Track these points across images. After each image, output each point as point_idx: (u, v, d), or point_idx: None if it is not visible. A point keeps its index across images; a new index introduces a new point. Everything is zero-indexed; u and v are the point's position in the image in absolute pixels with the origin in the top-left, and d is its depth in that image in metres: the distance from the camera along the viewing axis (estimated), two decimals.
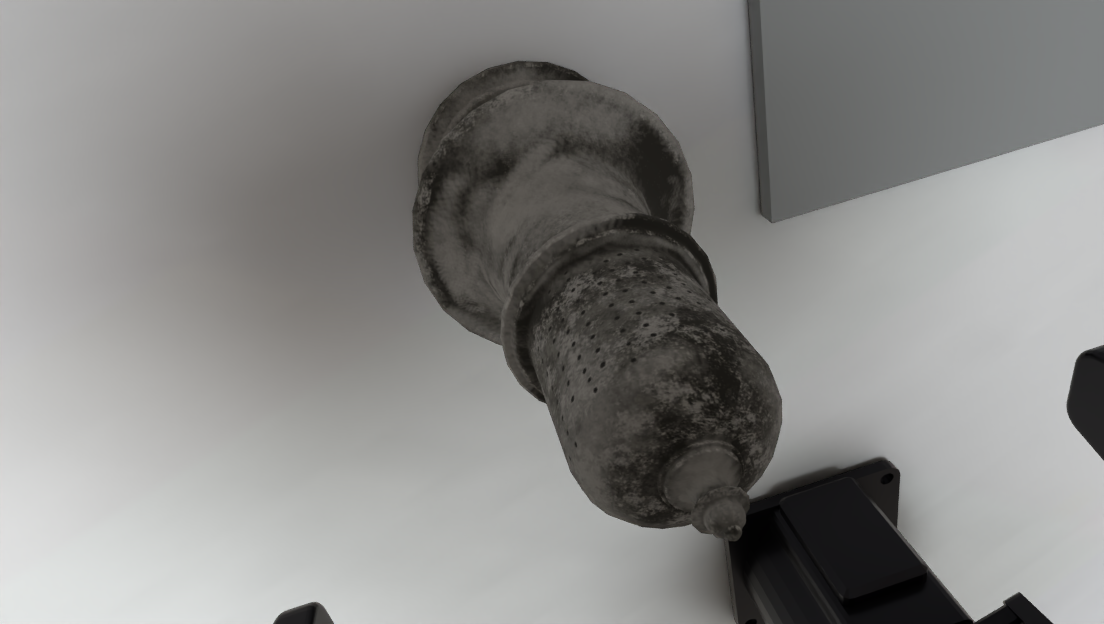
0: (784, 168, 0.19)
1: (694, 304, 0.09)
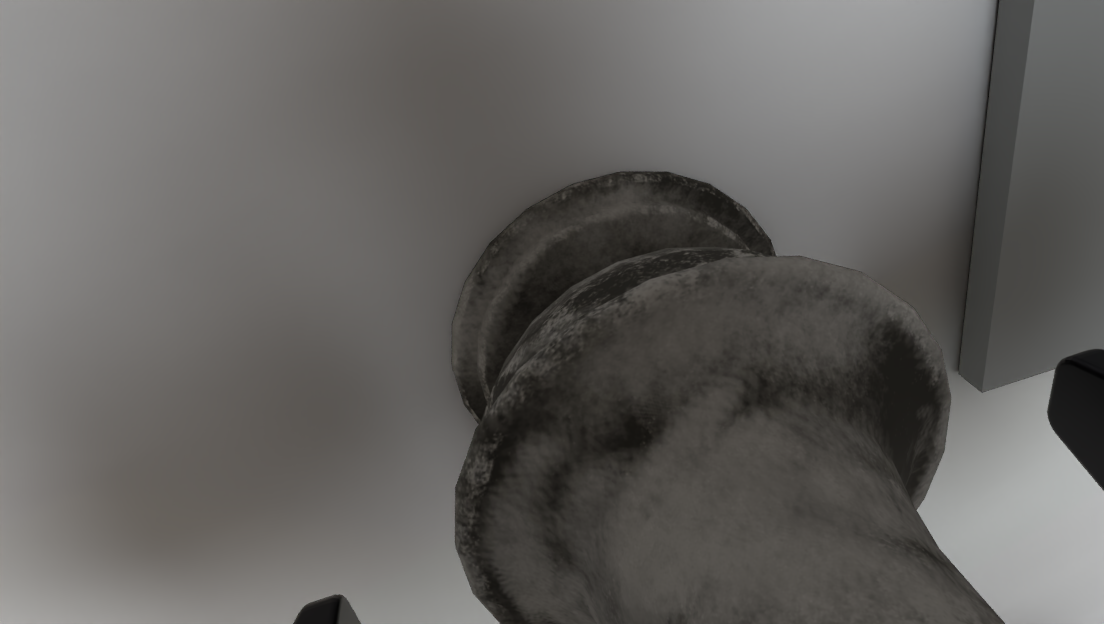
0: (1013, 318, 0.12)
1: None
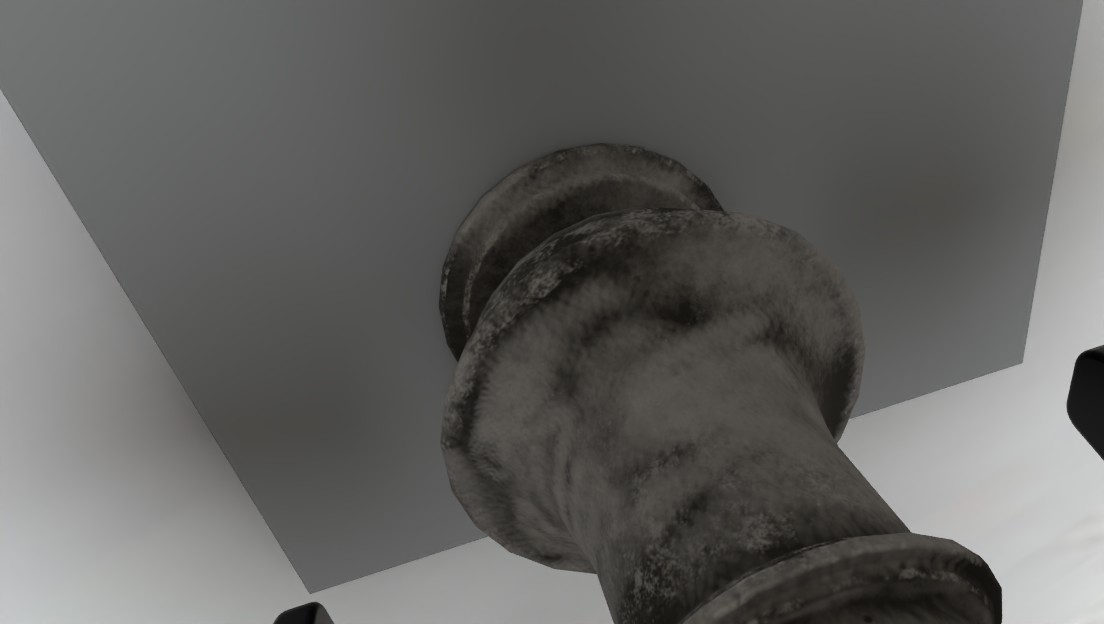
0: (302, 540, 0.14)
1: None
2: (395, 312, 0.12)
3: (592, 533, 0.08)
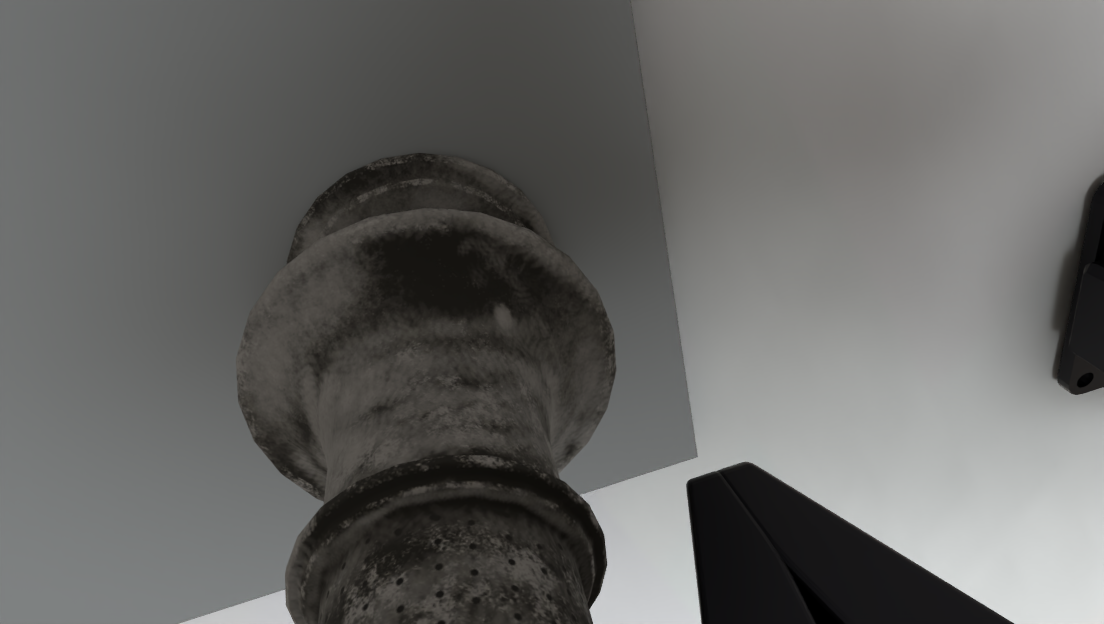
0: (641, 462, 0.18)
1: None
2: None
3: None
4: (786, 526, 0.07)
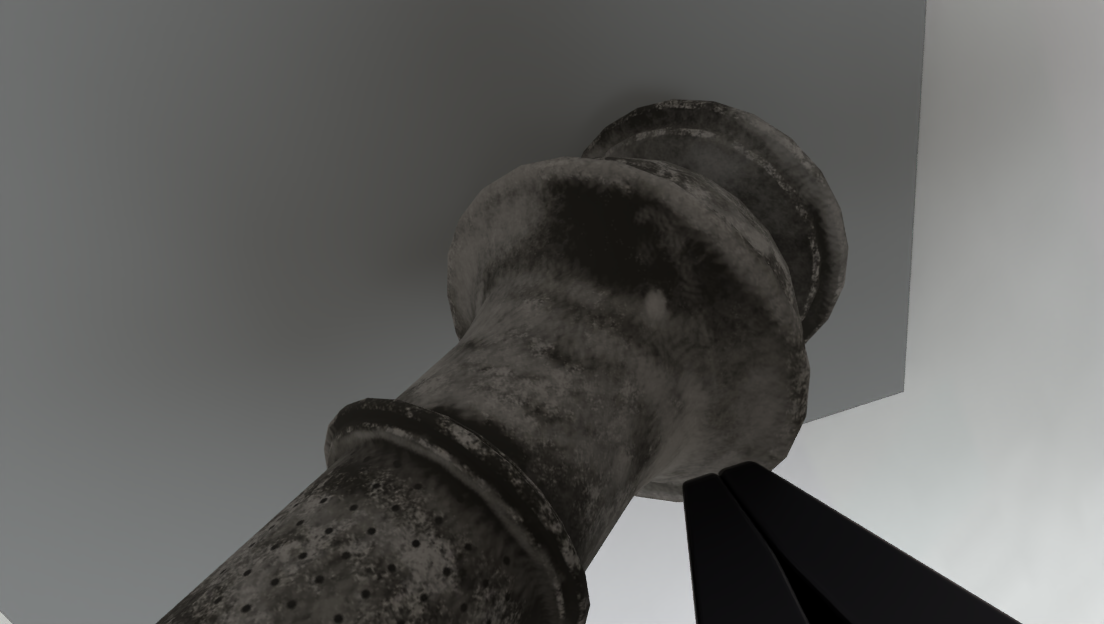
0: (852, 395, 0.18)
1: (213, 576, 0.06)
2: None
3: None
4: (790, 525, 0.07)
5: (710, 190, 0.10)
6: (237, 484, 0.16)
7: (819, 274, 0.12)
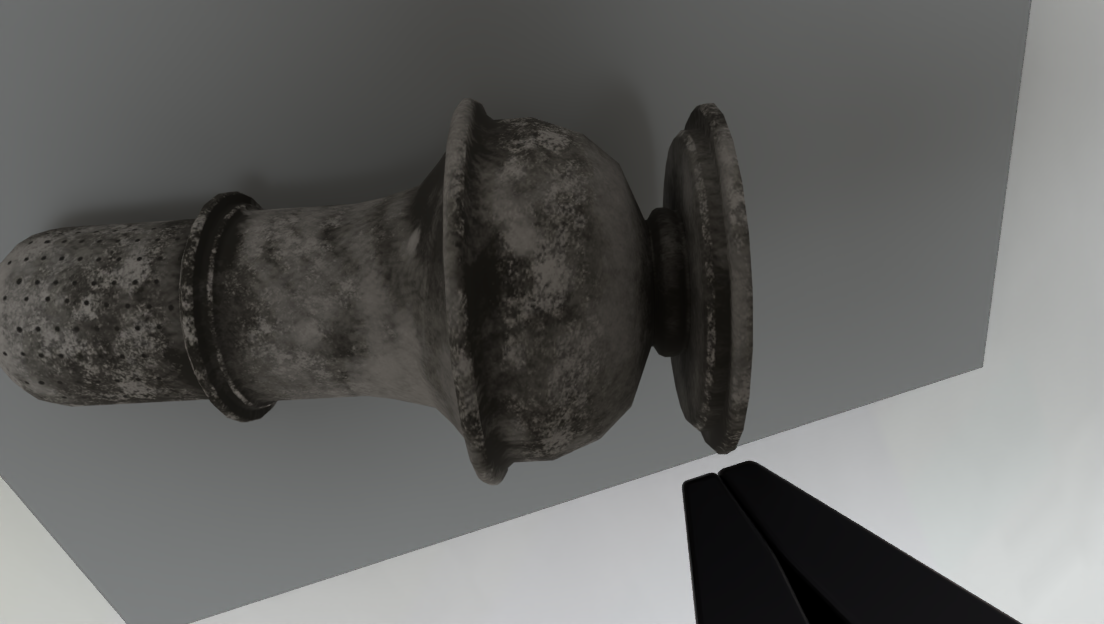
0: (933, 370, 0.19)
1: None
2: (774, 313, 0.17)
3: None
4: (790, 525, 0.07)
5: (532, 174, 0.09)
6: (333, 457, 0.16)
7: (718, 361, 0.09)
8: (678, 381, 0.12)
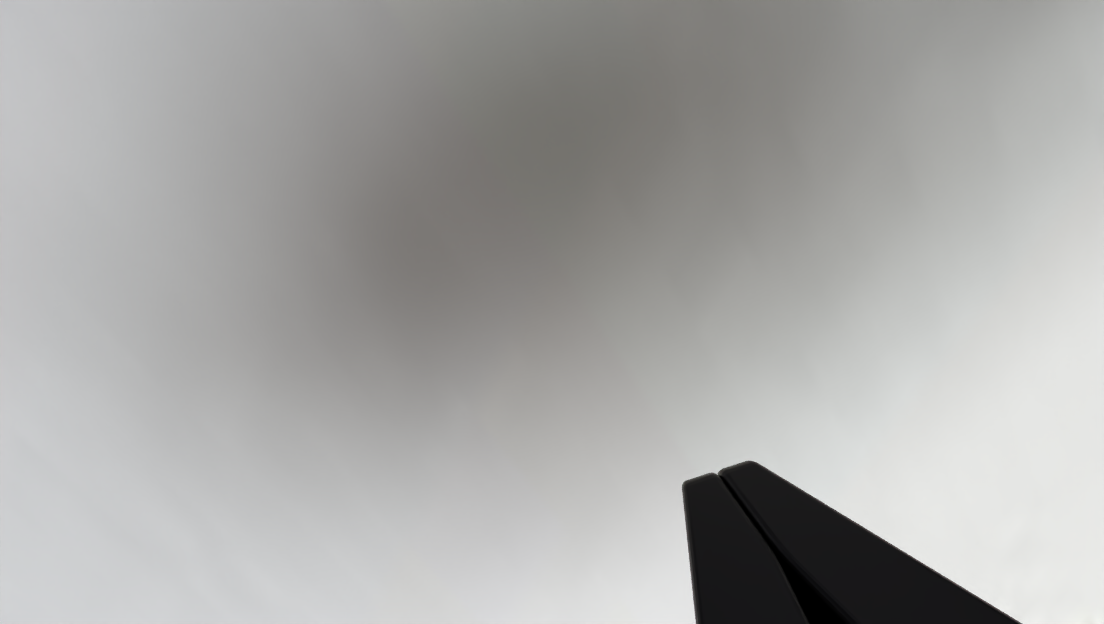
0: None
1: None
2: None
3: None
4: (790, 525, 0.07)
5: None
6: None
7: None
8: None
